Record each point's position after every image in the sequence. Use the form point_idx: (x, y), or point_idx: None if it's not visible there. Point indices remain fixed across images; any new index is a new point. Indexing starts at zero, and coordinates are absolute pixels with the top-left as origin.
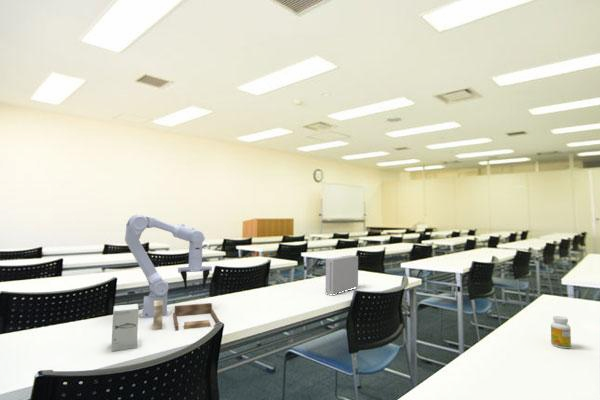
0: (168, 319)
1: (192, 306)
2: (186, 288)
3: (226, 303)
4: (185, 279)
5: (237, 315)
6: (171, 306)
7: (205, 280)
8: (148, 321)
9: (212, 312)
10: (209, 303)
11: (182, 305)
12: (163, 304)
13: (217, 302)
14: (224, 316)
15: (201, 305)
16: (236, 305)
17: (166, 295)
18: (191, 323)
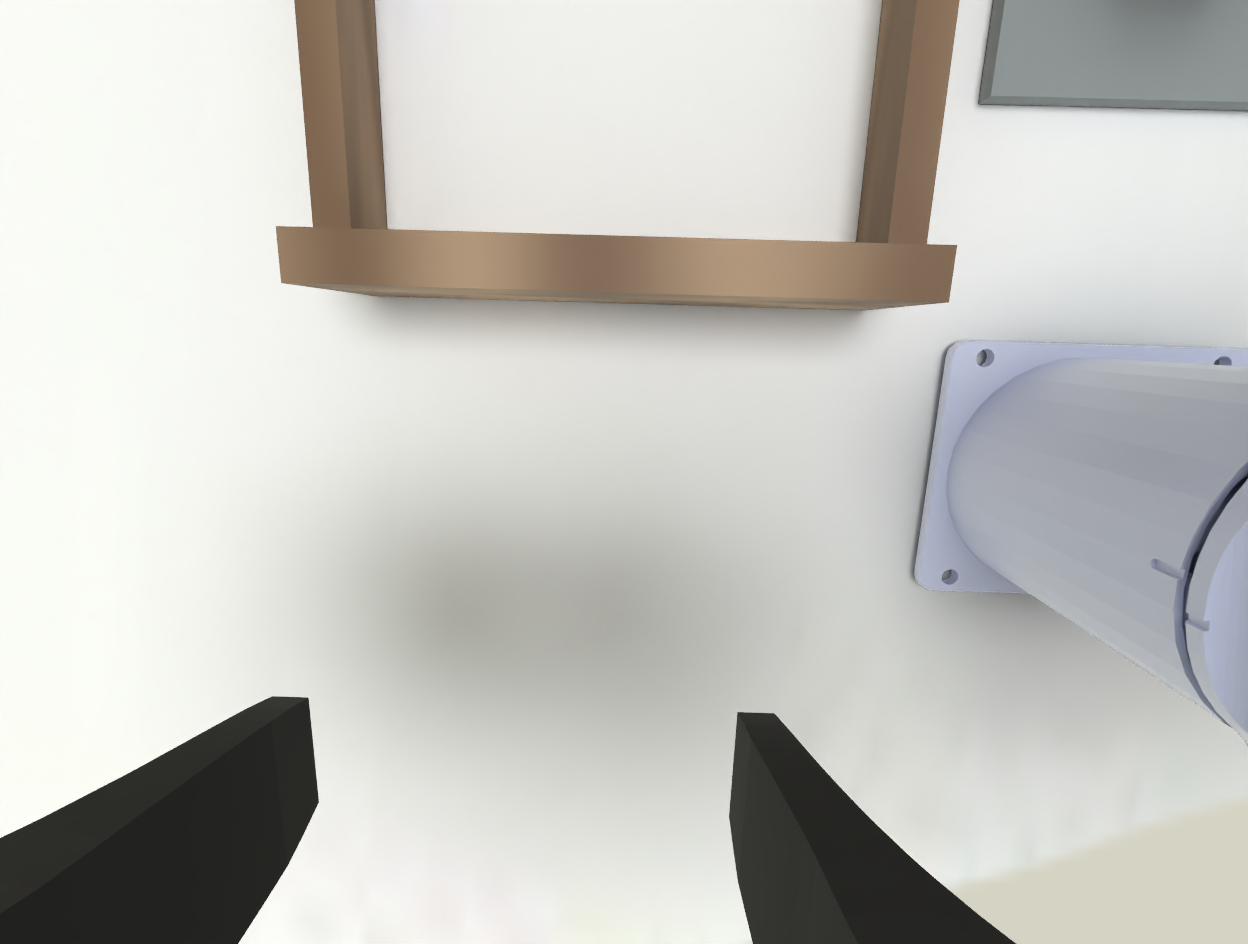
0: None
1: (636, 239)
2: (745, 715)
3: None
4: (901, 928)
5: (5, 111)
6: None
7: (54, 821)
8: (1202, 272)
9: (329, 54)
10: (317, 254)
11: (813, 282)
12: (1146, 393)
13: None
14: (194, 130)
15: (474, 233)
16: (12, 635)
17: (1218, 504)
18: None
